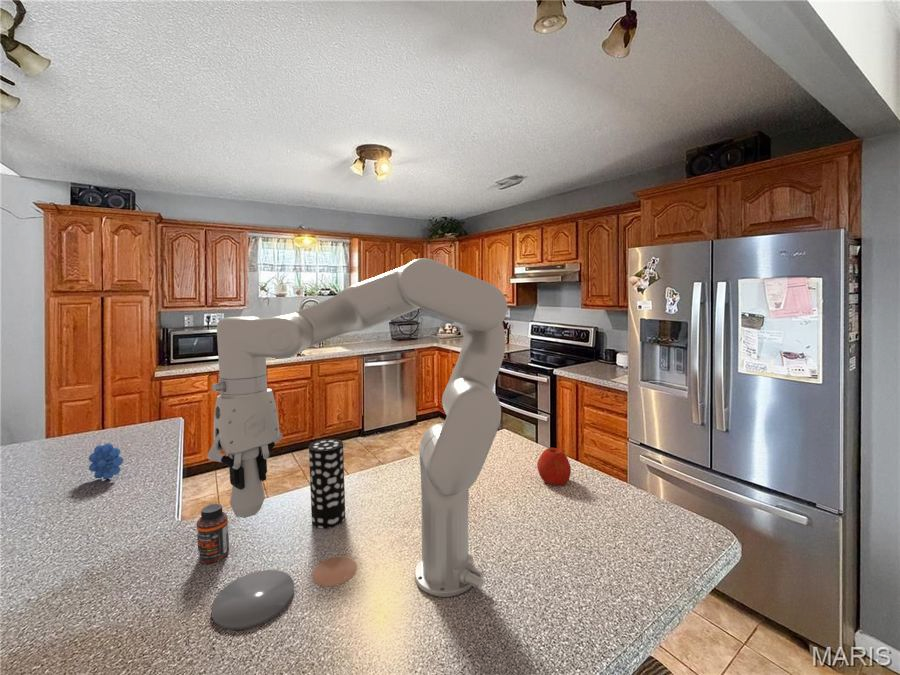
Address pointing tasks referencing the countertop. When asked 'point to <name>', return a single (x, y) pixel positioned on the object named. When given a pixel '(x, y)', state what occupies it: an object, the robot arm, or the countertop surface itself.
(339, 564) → the terracotta spot
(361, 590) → the countertop surface
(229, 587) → the slate plate
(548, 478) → the apple
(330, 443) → the spotted tube
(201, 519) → the supplement bottle
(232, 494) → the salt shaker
